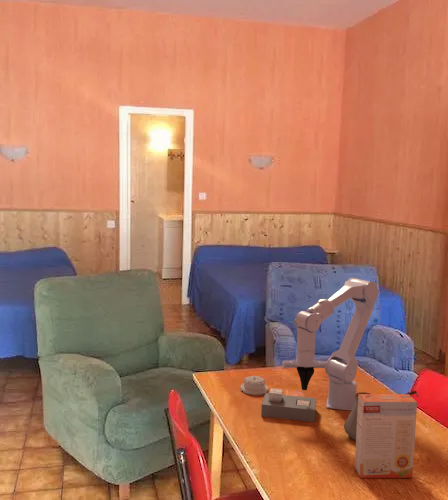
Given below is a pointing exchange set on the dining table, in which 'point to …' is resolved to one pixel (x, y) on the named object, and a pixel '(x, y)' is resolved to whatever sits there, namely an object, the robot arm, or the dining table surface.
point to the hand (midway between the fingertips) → (304, 389)
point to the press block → (289, 408)
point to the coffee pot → (351, 421)
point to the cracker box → (385, 435)
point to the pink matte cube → (303, 402)
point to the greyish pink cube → (275, 395)
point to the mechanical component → (254, 385)
